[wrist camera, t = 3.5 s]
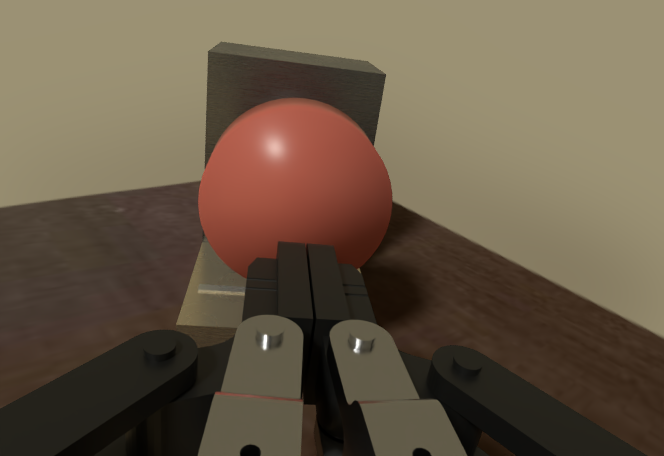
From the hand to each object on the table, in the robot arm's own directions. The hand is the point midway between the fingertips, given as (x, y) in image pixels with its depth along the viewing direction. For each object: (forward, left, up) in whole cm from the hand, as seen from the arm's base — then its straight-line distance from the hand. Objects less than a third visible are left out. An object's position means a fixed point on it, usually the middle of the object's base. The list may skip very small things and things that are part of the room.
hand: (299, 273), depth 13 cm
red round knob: (+5, -9, -4) cm, 11 cm away
